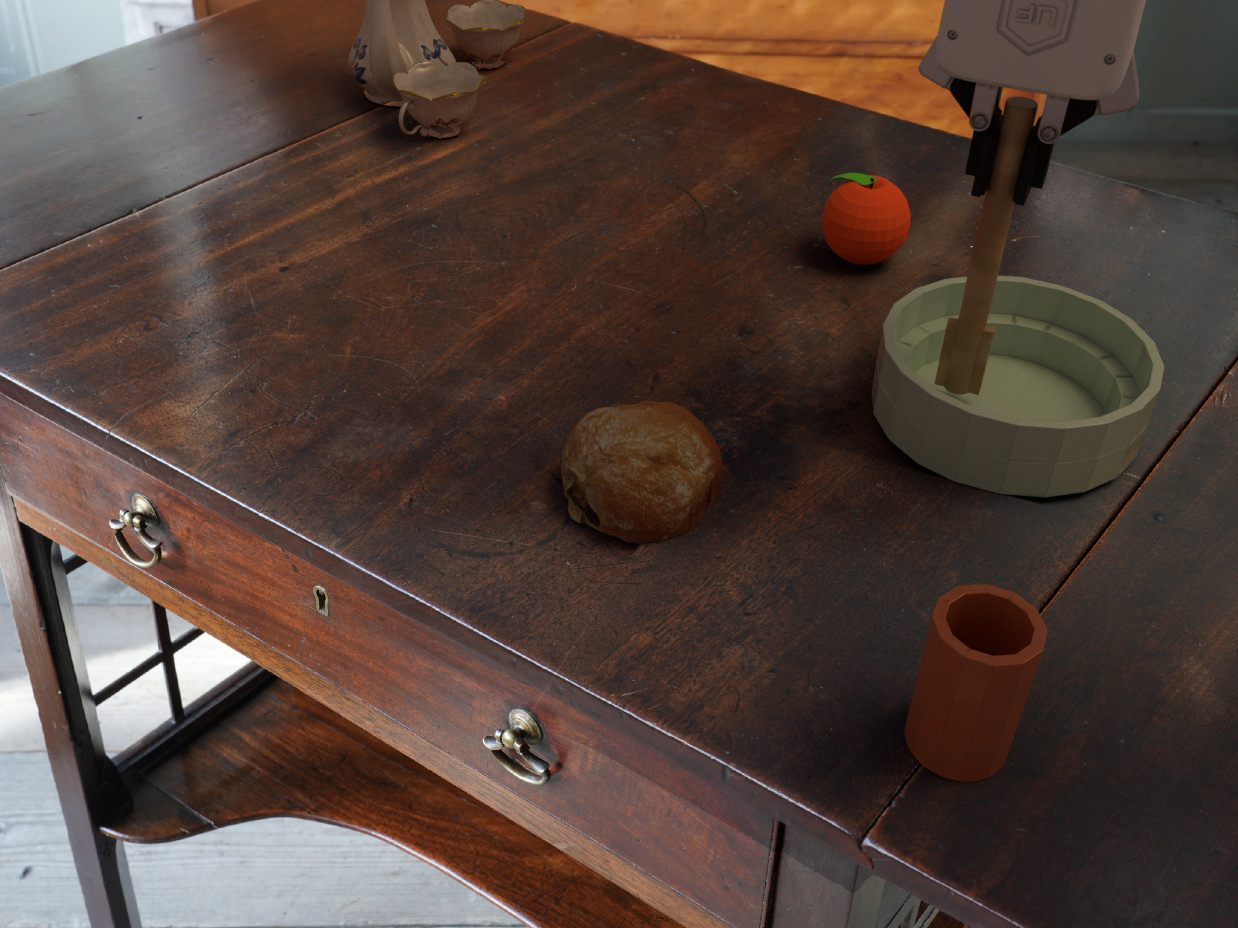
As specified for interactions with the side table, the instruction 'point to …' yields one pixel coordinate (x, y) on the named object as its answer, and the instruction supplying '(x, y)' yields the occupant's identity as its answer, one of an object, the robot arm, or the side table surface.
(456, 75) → the chinaware
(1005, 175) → the stick
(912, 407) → the bowl
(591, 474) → the bread roll
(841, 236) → the clementine
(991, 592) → the holder
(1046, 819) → the side table surface
